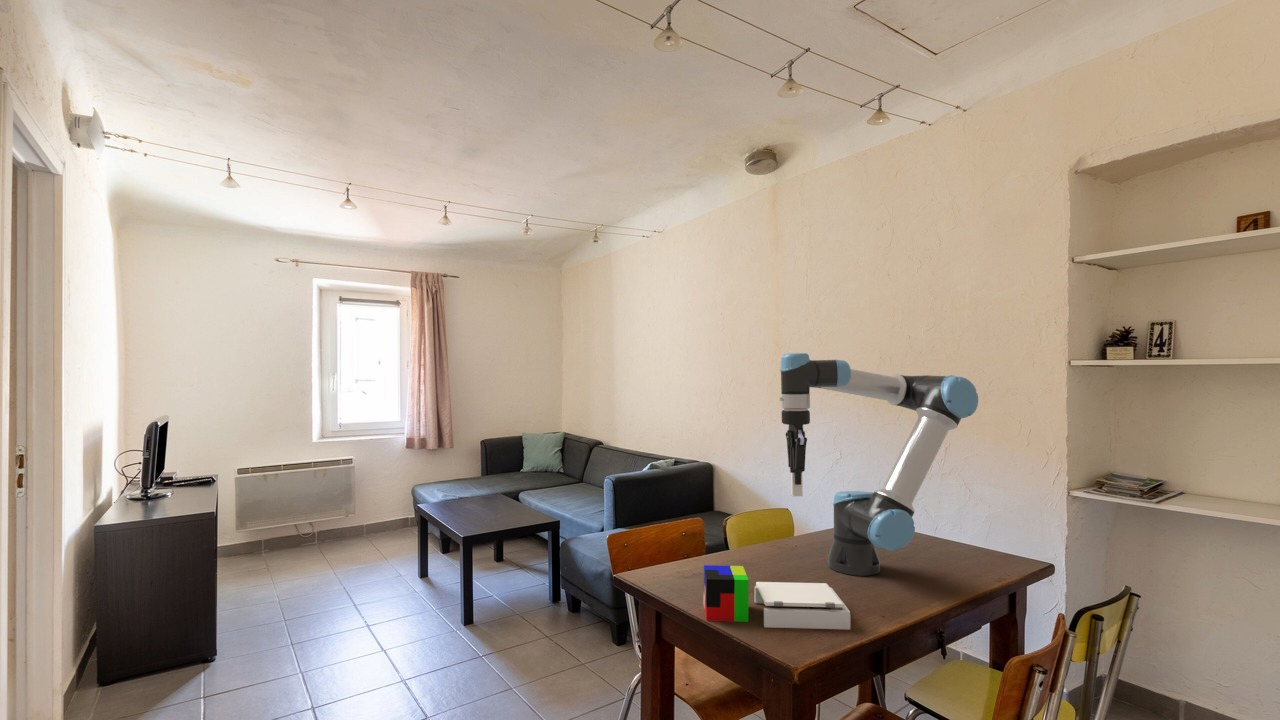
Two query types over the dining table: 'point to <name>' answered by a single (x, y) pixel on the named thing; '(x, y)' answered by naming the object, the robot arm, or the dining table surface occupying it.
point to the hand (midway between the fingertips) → (796, 495)
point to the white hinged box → (805, 616)
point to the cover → (798, 594)
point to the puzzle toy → (725, 593)
